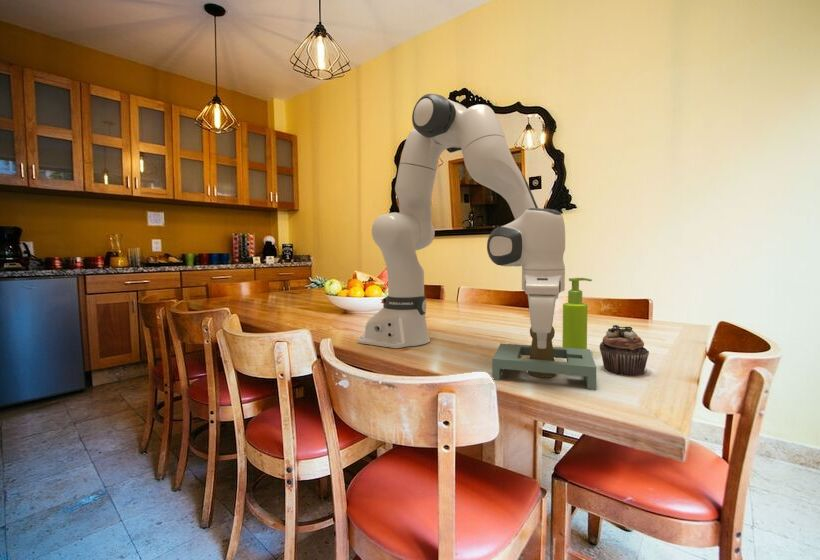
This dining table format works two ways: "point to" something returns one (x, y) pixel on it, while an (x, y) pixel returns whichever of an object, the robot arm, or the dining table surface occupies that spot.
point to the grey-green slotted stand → (545, 362)
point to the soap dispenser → (575, 318)
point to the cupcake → (623, 352)
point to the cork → (542, 352)
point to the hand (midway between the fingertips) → (542, 344)
